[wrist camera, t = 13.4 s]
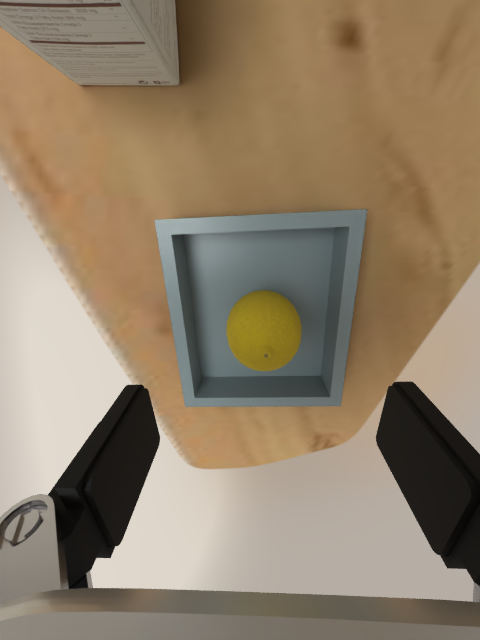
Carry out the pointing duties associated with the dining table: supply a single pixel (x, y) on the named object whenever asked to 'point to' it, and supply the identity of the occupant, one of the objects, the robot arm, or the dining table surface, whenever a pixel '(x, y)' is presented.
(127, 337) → the dining table surface
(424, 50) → the dining table surface
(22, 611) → the robot arm
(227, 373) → the walled box
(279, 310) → the lemon
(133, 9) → the supplement box
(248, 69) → the dining table surface
